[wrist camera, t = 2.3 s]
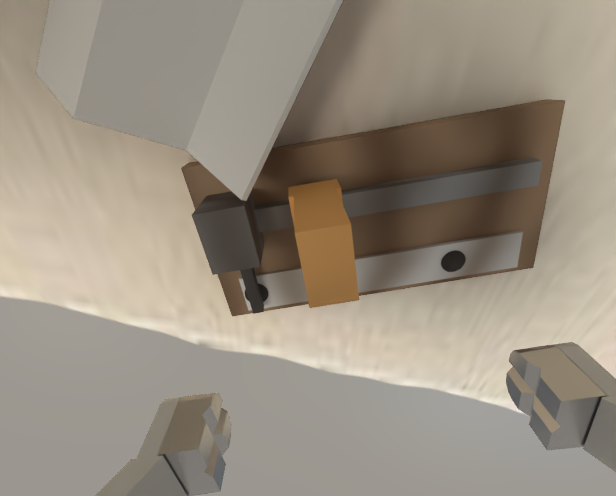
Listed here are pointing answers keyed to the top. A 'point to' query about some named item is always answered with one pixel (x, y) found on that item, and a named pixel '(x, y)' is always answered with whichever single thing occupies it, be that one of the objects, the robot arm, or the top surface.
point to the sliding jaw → (324, 243)
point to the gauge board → (389, 205)
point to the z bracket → (186, 72)
